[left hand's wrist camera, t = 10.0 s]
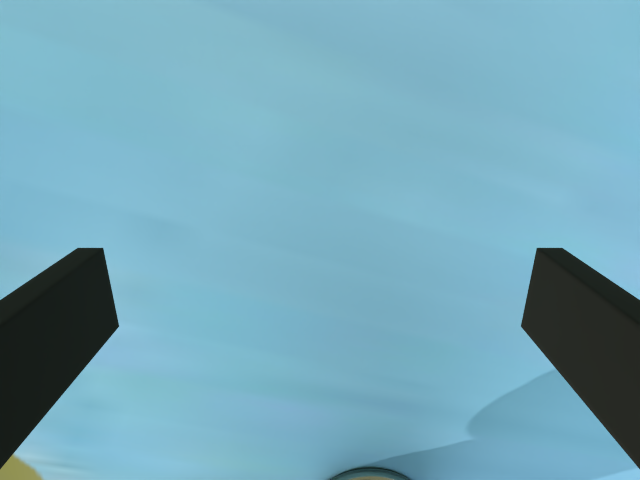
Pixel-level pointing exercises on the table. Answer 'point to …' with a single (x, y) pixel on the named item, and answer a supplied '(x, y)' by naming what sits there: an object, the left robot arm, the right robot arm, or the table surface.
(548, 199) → the table surface
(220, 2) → the table surface
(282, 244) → the table surface
